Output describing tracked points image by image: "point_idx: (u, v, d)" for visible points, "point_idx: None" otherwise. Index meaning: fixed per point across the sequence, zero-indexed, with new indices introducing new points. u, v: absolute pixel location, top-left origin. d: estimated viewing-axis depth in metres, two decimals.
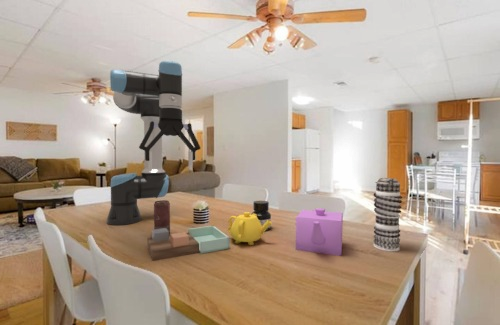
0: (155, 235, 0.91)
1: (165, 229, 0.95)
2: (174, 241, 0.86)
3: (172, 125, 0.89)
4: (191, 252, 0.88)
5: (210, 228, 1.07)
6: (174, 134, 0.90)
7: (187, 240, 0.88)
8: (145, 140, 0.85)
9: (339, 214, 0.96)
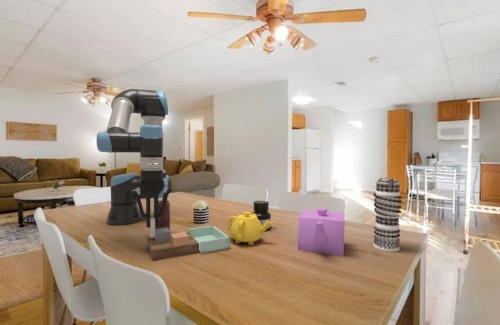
0: (157, 235, 0.91)
1: (167, 229, 0.96)
2: (174, 241, 0.86)
3: (155, 181, 0.91)
4: (191, 252, 0.88)
5: (210, 228, 1.07)
6: None
7: (187, 240, 0.88)
8: (141, 208, 0.90)
9: (341, 214, 0.96)
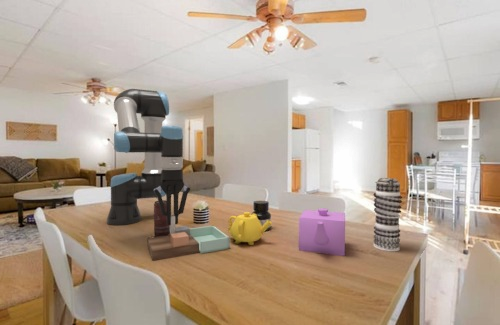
0: (177, 232, 0.94)
1: (186, 227, 0.99)
2: (174, 241, 0.86)
3: (175, 180, 0.95)
4: (191, 252, 0.88)
5: (210, 228, 1.07)
6: None
7: (187, 240, 0.88)
8: (162, 207, 0.93)
9: (342, 214, 0.96)
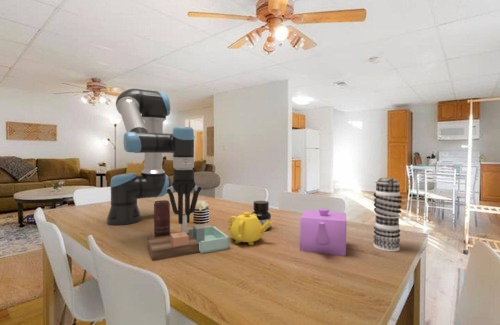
0: (202, 229, 0.98)
1: None
2: (174, 241, 0.86)
3: (187, 180, 0.97)
4: (191, 252, 0.88)
5: (210, 228, 1.07)
6: None
7: (187, 240, 0.88)
8: (174, 206, 0.95)
9: (342, 214, 0.96)
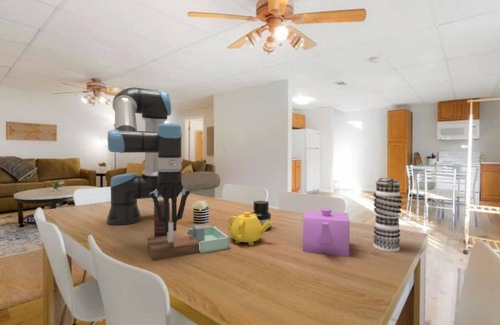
0: (202, 229, 0.98)
1: None
2: (174, 241, 0.86)
3: (173, 183, 0.86)
4: (191, 252, 0.88)
5: (210, 228, 1.07)
6: None
7: (187, 240, 0.88)
8: (159, 212, 0.85)
9: (345, 214, 0.96)
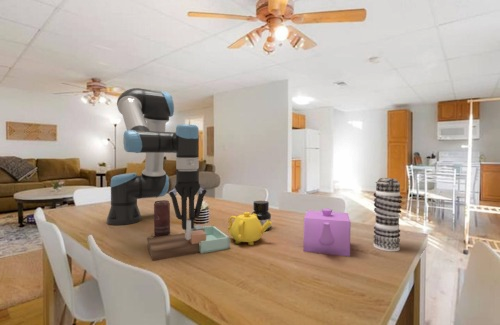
0: (202, 229, 0.98)
1: None
2: (192, 238, 0.89)
3: (191, 182, 0.89)
4: (191, 252, 0.88)
5: (210, 228, 1.07)
6: None
7: (205, 238, 0.91)
8: (177, 210, 0.87)
9: (345, 214, 0.96)
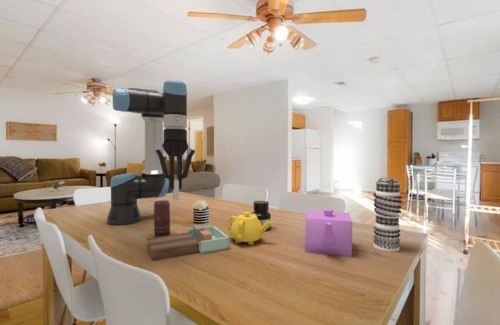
0: (202, 229, 0.98)
1: None
2: (209, 235, 0.91)
3: (178, 141, 0.87)
4: (191, 252, 0.88)
5: (210, 228, 1.07)
6: None
7: None
8: (165, 169, 0.85)
9: (346, 214, 0.96)
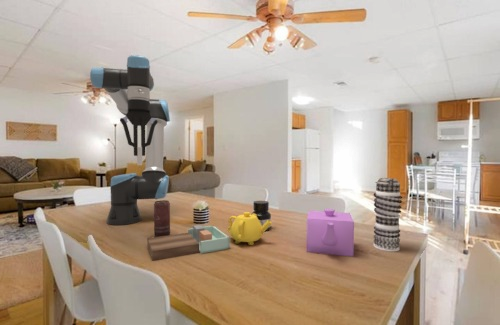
0: (202, 229, 0.98)
1: None
2: (209, 235, 0.91)
3: (142, 111, 0.95)
4: (191, 252, 0.88)
5: (210, 228, 1.07)
6: None
7: None
8: (128, 136, 0.93)
9: (347, 214, 0.96)
